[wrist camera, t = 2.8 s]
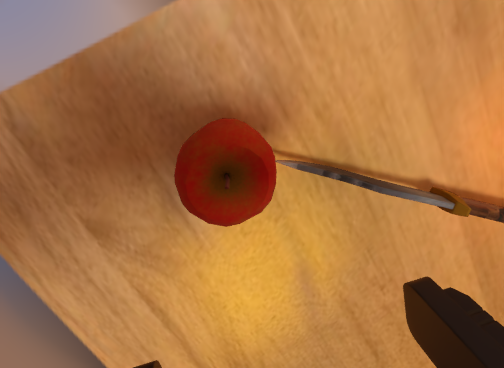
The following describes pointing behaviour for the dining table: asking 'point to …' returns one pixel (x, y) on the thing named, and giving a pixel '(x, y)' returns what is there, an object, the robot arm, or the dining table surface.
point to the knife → (406, 191)
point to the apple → (225, 173)
